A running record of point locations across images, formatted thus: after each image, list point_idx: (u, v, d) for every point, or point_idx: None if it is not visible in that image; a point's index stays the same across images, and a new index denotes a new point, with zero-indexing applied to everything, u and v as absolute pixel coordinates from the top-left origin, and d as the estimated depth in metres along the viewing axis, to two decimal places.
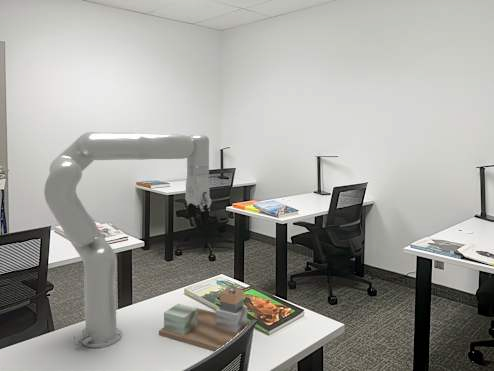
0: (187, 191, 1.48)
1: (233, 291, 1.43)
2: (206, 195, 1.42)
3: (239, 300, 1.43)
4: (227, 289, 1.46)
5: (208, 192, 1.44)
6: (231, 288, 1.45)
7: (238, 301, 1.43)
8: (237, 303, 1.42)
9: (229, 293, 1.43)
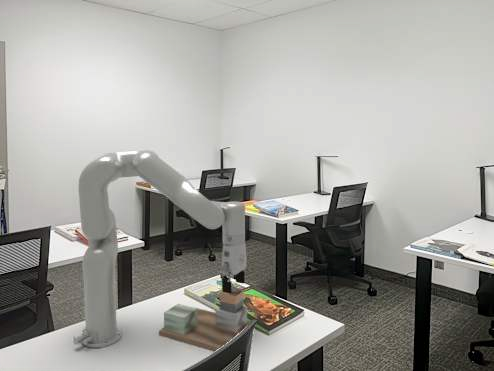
0: (237, 263, 1.39)
1: (233, 291, 1.43)
2: None
3: (239, 300, 1.43)
4: None
5: None
6: (231, 288, 1.45)
7: (238, 301, 1.43)
8: (237, 303, 1.42)
9: (229, 293, 1.43)
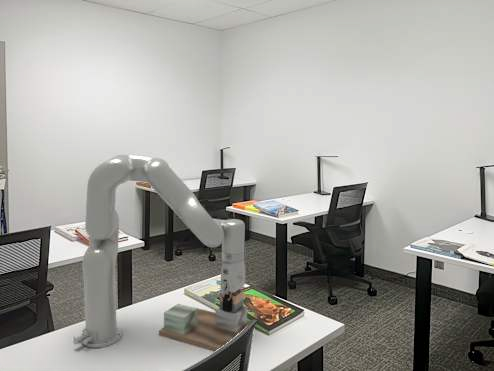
0: (235, 280, 1.40)
1: None
2: None
3: (239, 300, 1.43)
4: (227, 289, 1.46)
5: None
6: None
7: (238, 301, 1.43)
8: (237, 303, 1.42)
9: None
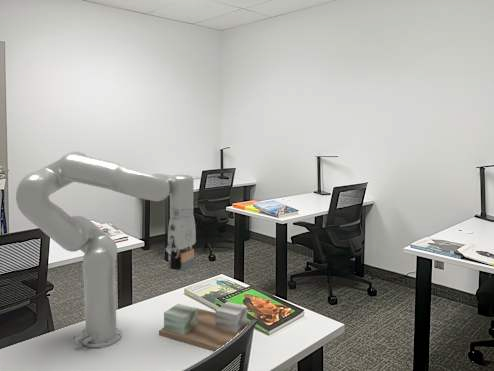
0: (183, 237, 1.35)
1: None
2: None
3: (188, 258, 1.38)
4: None
5: None
6: None
7: (187, 259, 1.38)
8: (186, 261, 1.37)
9: None
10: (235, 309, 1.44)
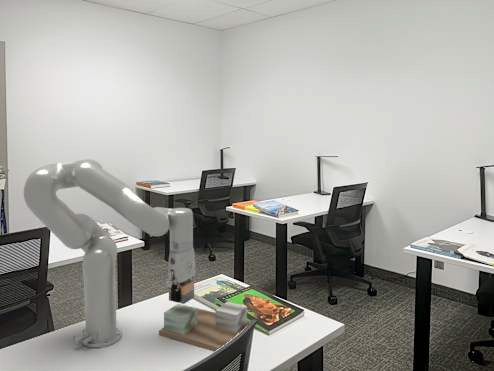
0: (183, 270, 1.37)
1: None
2: None
3: (188, 290, 1.40)
4: None
5: None
6: None
7: (187, 291, 1.39)
8: (186, 293, 1.39)
9: None
10: (235, 309, 1.44)
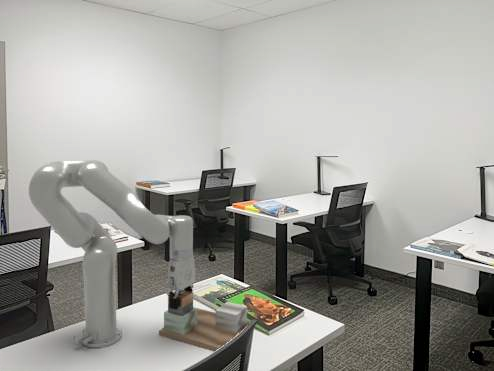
0: (183, 278, 1.37)
1: (181, 293, 1.41)
2: None
3: (187, 302, 1.41)
4: None
5: None
6: None
7: (186, 303, 1.40)
8: (185, 305, 1.39)
9: (177, 295, 1.40)
10: (235, 309, 1.44)
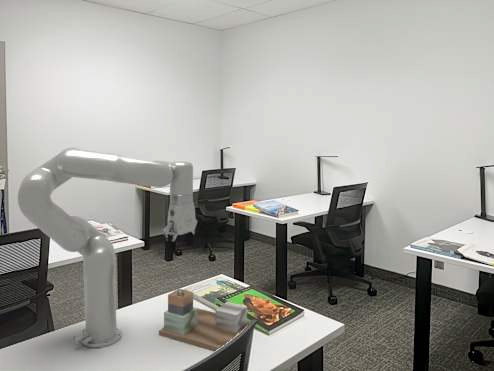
0: (182, 222, 1.38)
1: (181, 293, 1.41)
2: None
3: (187, 302, 1.41)
4: (176, 291, 1.43)
5: None
6: (180, 290, 1.42)
7: (186, 303, 1.40)
8: (185, 305, 1.39)
9: (177, 295, 1.40)
10: (235, 309, 1.44)
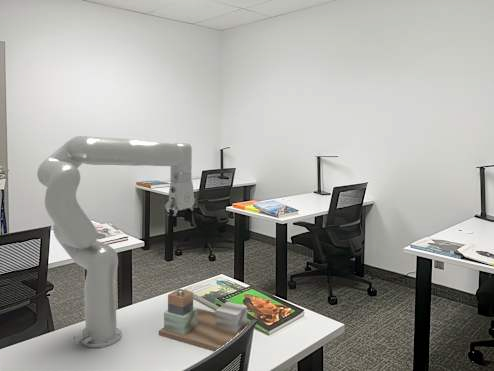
0: (182, 199, 1.51)
1: (181, 293, 1.41)
2: None
3: (187, 302, 1.41)
4: (176, 291, 1.43)
5: None
6: (180, 290, 1.42)
7: (186, 303, 1.40)
8: (185, 305, 1.39)
9: (177, 295, 1.40)
10: (235, 309, 1.44)
